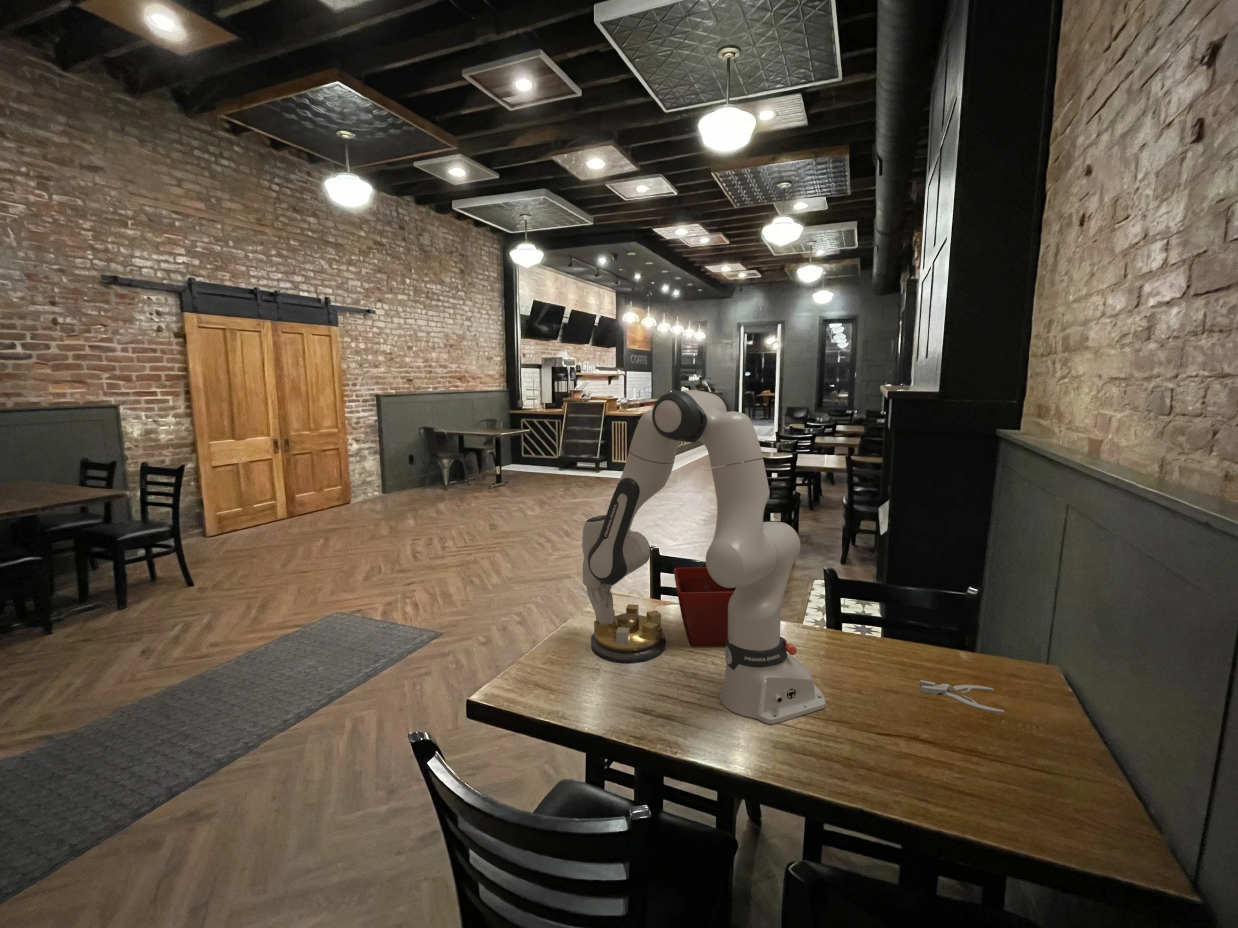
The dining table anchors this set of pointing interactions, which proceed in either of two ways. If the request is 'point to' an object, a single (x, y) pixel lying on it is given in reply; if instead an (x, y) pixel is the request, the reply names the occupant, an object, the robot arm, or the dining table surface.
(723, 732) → the dining table surface
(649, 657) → the nut base
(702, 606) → the plant pot
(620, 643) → the ring nut
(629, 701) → the dining table surface
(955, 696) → the pliers
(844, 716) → the dining table surface
